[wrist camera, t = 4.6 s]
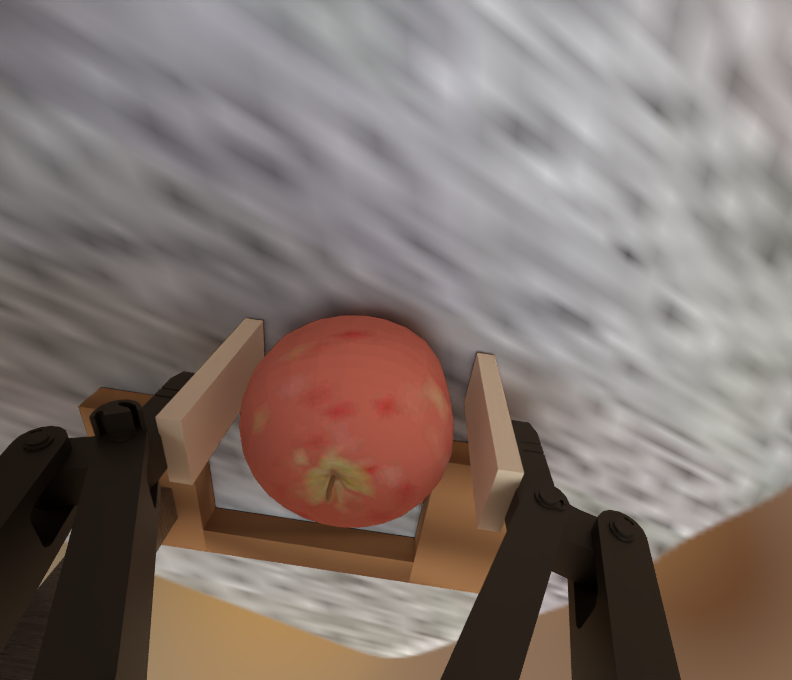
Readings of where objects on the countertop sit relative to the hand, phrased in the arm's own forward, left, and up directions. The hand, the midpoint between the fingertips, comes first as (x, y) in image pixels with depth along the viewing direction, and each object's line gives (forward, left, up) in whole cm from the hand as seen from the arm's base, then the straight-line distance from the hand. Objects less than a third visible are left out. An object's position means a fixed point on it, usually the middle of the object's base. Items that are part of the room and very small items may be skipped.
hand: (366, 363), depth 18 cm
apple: (0, 0, 0) cm, 0 cm away
